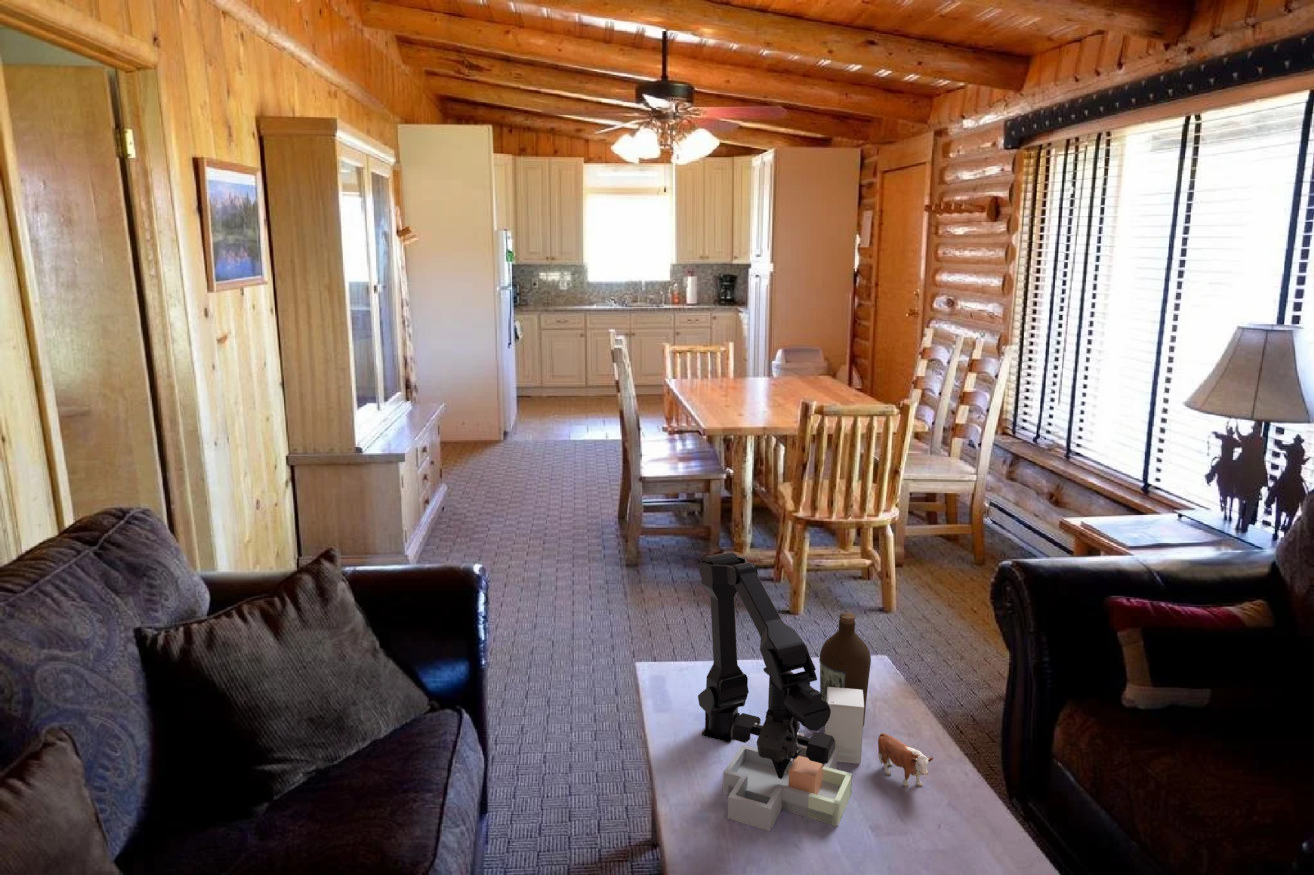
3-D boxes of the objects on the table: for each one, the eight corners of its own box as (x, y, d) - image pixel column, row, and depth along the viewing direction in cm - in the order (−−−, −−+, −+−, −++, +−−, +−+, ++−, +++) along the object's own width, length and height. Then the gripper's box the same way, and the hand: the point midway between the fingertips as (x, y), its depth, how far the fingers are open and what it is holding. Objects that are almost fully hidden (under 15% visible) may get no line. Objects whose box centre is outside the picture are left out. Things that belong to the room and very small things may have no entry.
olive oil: (840, 704, 196) (845, 600, 191) (877, 725, 188) (884, 617, 182) (806, 719, 190) (811, 613, 185) (843, 741, 182) (849, 631, 176)
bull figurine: (920, 802, 162) (923, 764, 161) (871, 765, 174) (873, 728, 172) (937, 796, 164) (940, 757, 163) (888, 758, 176) (890, 722, 174)
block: (788, 793, 162) (788, 769, 161) (796, 778, 166) (797, 755, 165) (814, 800, 160) (815, 776, 159) (821, 785, 164) (822, 762, 163)
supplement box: (861, 764, 174) (864, 707, 171) (823, 760, 175) (826, 703, 173) (860, 744, 181) (863, 688, 178) (824, 740, 183) (826, 685, 180)
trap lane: (709, 813, 160) (710, 791, 159) (752, 747, 180) (753, 728, 179) (827, 849, 150) (829, 826, 149) (859, 775, 170) (860, 755, 169)
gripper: (720, 712, 158) (718, 787, 162) (821, 737, 150) (817, 817, 154) (742, 684, 168) (740, 756, 172) (838, 707, 160) (833, 782, 164)
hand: (780, 777), depth 165 cm, fingers closed
